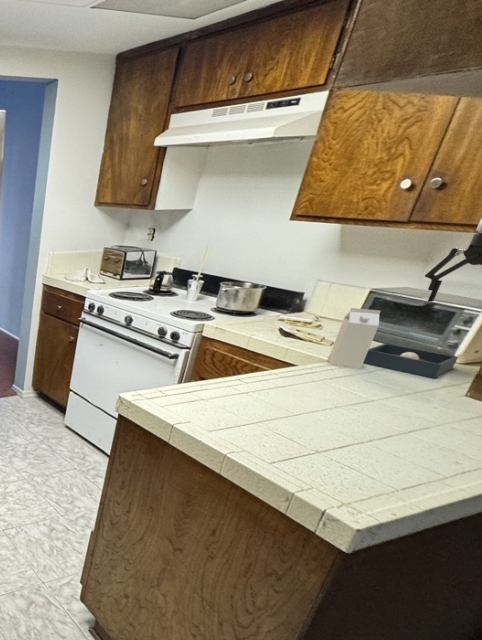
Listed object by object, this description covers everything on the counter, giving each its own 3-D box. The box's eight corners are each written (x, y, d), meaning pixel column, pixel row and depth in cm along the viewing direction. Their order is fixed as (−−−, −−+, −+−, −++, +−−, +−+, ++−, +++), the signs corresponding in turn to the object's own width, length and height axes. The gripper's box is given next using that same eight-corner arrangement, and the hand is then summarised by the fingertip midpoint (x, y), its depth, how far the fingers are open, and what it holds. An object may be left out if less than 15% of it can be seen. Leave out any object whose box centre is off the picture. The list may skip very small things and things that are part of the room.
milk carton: (327, 360, 161) (348, 306, 154) (354, 364, 158) (377, 308, 151) (331, 366, 156) (354, 309, 148) (360, 370, 152) (384, 312, 145)
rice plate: (431, 368, 154) (438, 354, 152) (421, 373, 149) (428, 358, 147) (390, 359, 162) (396, 346, 160) (379, 363, 157) (385, 350, 155)
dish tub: (450, 371, 153) (458, 356, 151) (433, 380, 144) (441, 364, 142) (379, 356, 167) (385, 343, 165) (360, 364, 158) (366, 349, 156)
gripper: (430, 230, 145) (402, 299, 153) (562, 234, 125) (523, 313, 133) (437, 230, 149) (409, 297, 156) (567, 234, 129) (528, 310, 136)
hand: (461, 304), depth 145 cm, fingers open, 13 cm apart
